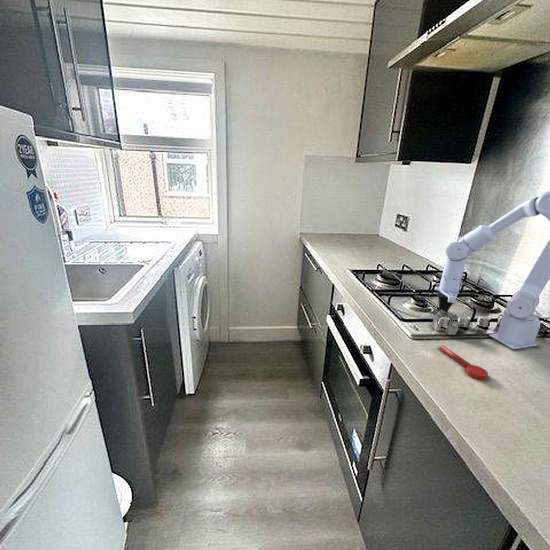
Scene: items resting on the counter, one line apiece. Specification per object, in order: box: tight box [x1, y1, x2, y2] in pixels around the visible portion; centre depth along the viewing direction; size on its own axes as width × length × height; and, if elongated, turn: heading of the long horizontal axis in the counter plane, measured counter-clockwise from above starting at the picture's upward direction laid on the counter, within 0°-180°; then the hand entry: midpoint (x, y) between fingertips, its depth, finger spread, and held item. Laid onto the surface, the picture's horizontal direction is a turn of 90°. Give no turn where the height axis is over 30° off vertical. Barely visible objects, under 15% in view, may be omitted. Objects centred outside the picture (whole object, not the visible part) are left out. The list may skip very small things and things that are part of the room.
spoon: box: [439, 344, 489, 381], centre depth 79 cm, size 4×14×1 cm, turn 16°
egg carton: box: [432, 309, 463, 336], centre depth 97 cm, size 11×8×4 cm
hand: (442, 314), depth 104 cm, fingers closed
